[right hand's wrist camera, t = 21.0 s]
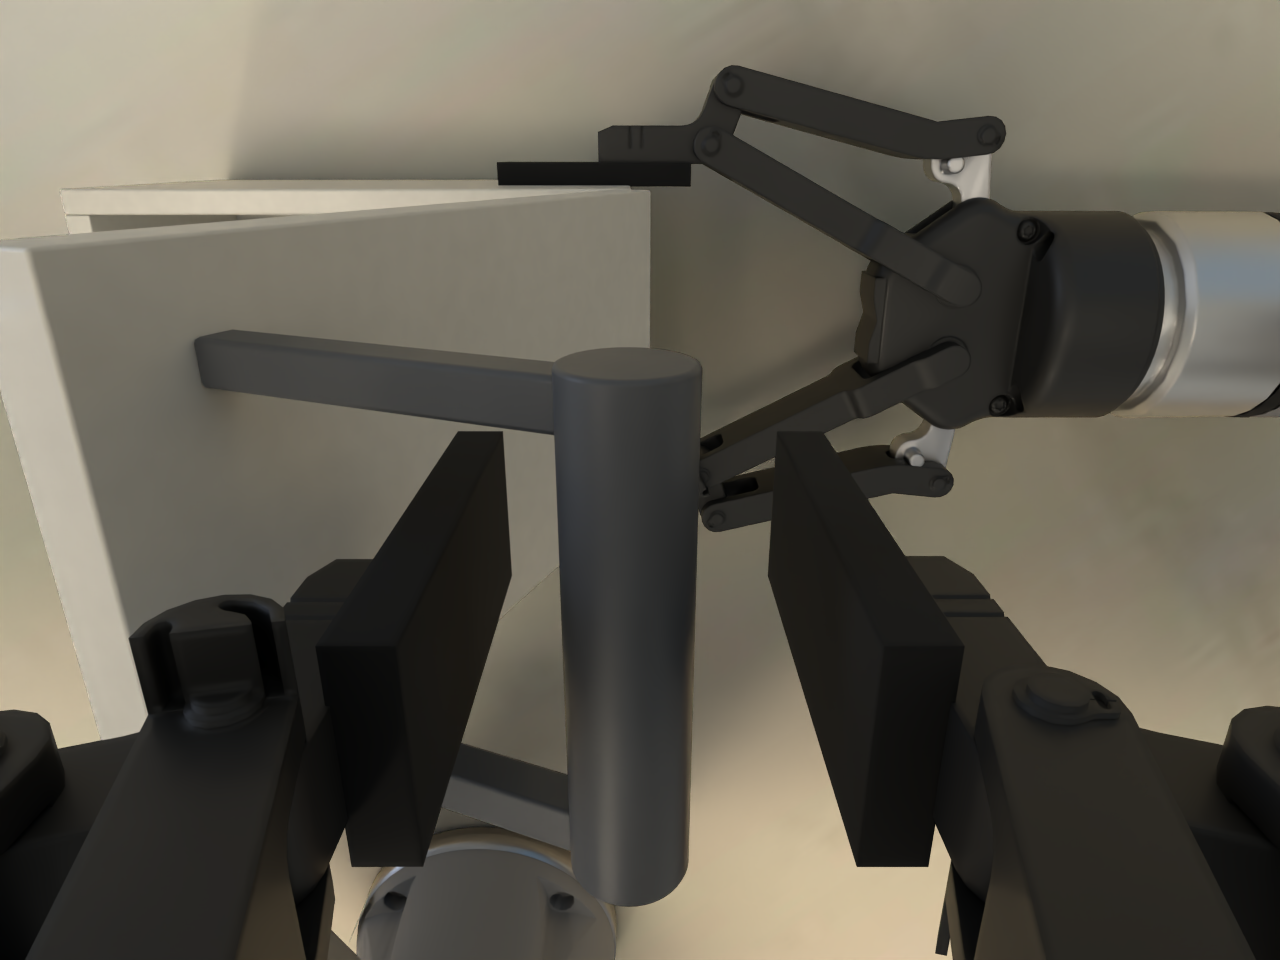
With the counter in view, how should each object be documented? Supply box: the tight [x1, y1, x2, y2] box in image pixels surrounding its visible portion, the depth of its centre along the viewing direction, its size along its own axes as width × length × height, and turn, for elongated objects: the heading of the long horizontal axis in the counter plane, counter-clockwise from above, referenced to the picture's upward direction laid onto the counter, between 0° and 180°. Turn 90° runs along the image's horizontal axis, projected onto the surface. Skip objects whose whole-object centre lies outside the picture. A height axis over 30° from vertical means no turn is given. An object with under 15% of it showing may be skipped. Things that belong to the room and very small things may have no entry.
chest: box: [60, 180, 631, 234], centre depth 32 cm, size 17×9×11 cm, turn 90°
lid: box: [0, 189, 702, 907], centre depth 17 cm, size 18×9×8 cm
